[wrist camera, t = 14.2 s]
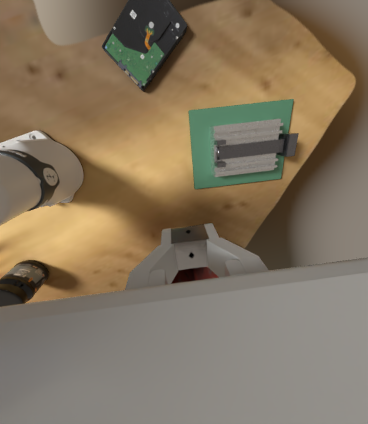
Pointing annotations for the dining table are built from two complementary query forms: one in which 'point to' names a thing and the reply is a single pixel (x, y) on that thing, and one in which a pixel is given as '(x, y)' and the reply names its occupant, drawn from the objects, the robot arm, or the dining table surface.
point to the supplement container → (22, 283)
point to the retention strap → (250, 149)
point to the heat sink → (248, 135)
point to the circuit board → (225, 116)
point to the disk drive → (144, 38)
